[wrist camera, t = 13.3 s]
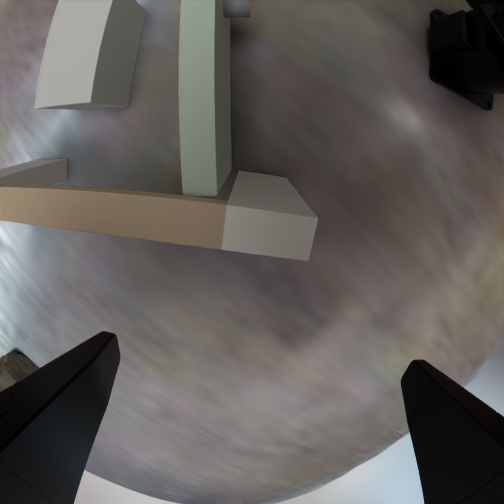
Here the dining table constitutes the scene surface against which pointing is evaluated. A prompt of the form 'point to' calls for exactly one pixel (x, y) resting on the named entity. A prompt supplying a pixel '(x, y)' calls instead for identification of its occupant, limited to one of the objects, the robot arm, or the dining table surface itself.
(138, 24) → the block
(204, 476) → the dining table surface
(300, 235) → the wall frame
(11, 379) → the brown stone slab
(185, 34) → the door
